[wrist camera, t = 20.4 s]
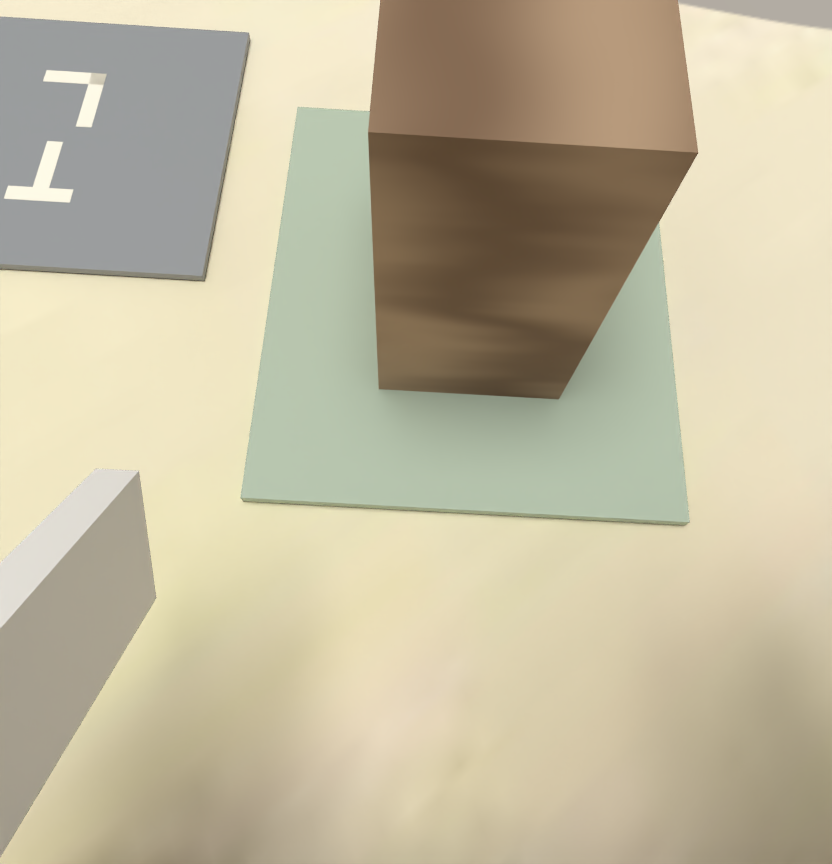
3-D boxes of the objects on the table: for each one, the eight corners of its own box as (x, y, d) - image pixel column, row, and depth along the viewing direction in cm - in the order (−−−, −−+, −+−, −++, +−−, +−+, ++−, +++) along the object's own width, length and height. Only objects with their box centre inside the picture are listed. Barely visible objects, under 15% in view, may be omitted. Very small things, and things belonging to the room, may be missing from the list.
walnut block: (552, 205, 25) (661, -126, 15) (559, 399, 23) (698, 152, 12) (393, 195, 25) (394, -144, 15) (378, 389, 22) (367, 131, 12)
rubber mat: (646, 136, 27) (649, 128, 27) (684, 525, 22) (689, 522, 21) (298, 114, 27) (297, 106, 27) (243, 501, 21) (240, 497, 21)
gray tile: (250, 39, 29) (248, 32, 28) (204, 280, 24) (202, 275, 24) (-61, 19, 28) (-66, 12, 28) (-164, 259, 24) (-170, 253, 24)
